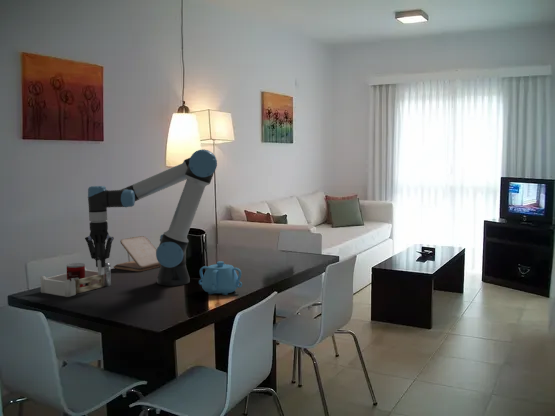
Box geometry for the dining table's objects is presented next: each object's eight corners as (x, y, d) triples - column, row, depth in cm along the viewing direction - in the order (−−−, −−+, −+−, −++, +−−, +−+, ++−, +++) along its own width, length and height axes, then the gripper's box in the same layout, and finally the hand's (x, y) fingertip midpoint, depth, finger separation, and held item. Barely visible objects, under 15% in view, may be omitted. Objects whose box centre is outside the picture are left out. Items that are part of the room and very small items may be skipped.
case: (140, 272, 284) (140, 241, 282) (110, 268, 294) (110, 238, 293) (166, 266, 301) (166, 237, 300) (138, 262, 312) (138, 234, 310)
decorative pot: (231, 286, 253) (231, 257, 252) (244, 294, 238) (244, 263, 237) (197, 290, 246) (196, 260, 245) (208, 298, 231) (208, 266, 230)
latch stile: (79, 292, 240) (78, 277, 240) (75, 293, 238) (74, 278, 238) (76, 291, 241) (75, 277, 241) (71, 293, 239) (71, 278, 239)
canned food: (81, 285, 253) (80, 262, 252) (88, 289, 247) (87, 264, 246) (64, 288, 248) (63, 264, 247) (70, 291, 242) (70, 266, 241)
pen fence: (110, 285, 254) (110, 270, 253) (67, 297, 232) (66, 280, 231) (84, 281, 262) (83, 267, 261) (39, 292, 240) (39, 276, 239)
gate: (101, 286, 251) (101, 273, 250) (103, 286, 250) (103, 274, 250) (75, 293, 238) (74, 280, 237) (77, 293, 237) (76, 280, 237)
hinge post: (112, 285, 254) (111, 262, 253) (107, 286, 251) (107, 263, 250) (107, 284, 255) (107, 261, 254) (102, 286, 253) (102, 263, 252)
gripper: (116, 220, 243) (119, 273, 246) (89, 220, 246) (92, 272, 249) (107, 222, 236) (110, 276, 238) (80, 222, 239) (83, 275, 241)
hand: (101, 274), depth 243 cm, fingers closed
